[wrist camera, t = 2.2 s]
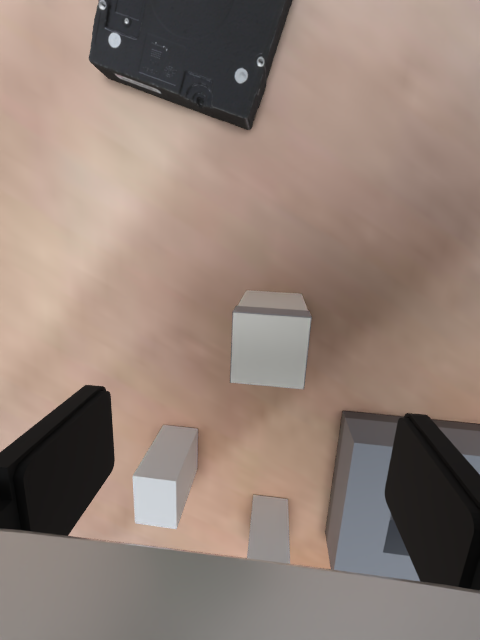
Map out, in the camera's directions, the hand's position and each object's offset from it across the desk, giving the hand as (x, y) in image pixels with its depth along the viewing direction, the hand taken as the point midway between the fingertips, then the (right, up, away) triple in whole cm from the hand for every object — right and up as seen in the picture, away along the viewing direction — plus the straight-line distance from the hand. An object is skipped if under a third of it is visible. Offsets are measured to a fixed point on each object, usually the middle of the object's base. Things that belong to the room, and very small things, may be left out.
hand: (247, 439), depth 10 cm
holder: (+13, -9, +16) cm, 23 cm away
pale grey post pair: (-1, -10, +18) cm, 21 cm away
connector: (+2, +4, +14) cm, 14 cm away
